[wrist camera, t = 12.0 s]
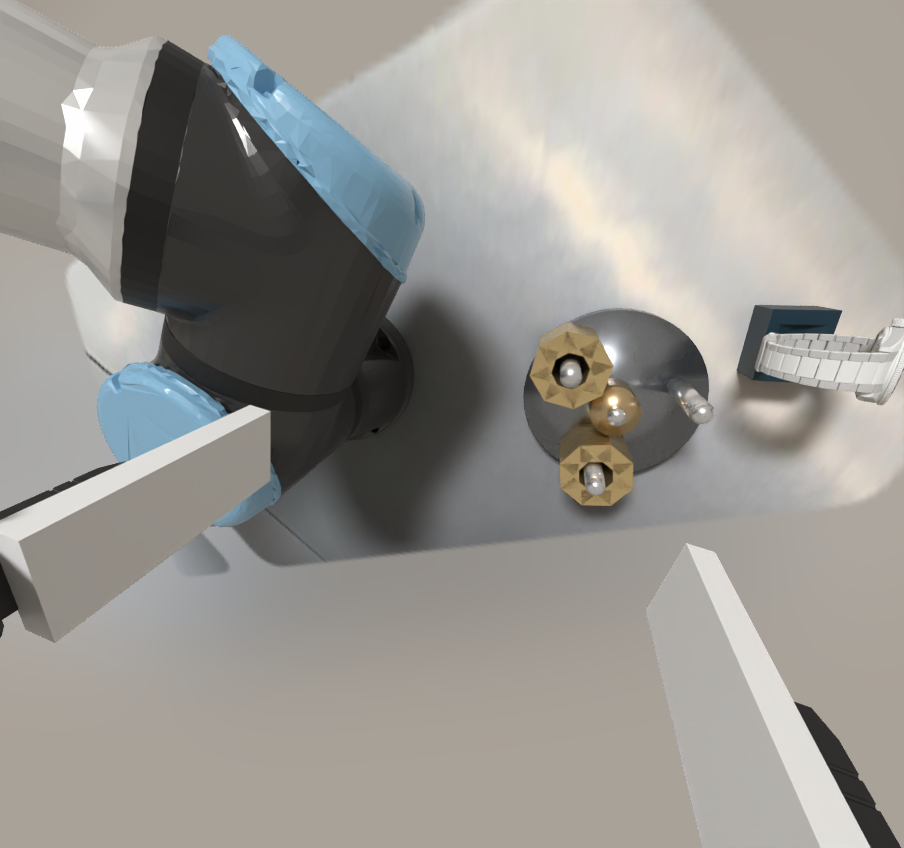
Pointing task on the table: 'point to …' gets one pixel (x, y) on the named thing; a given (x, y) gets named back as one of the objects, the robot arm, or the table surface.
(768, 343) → the watch
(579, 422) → the carrier
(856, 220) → the table surface
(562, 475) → the planet gear
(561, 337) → the planet gear
